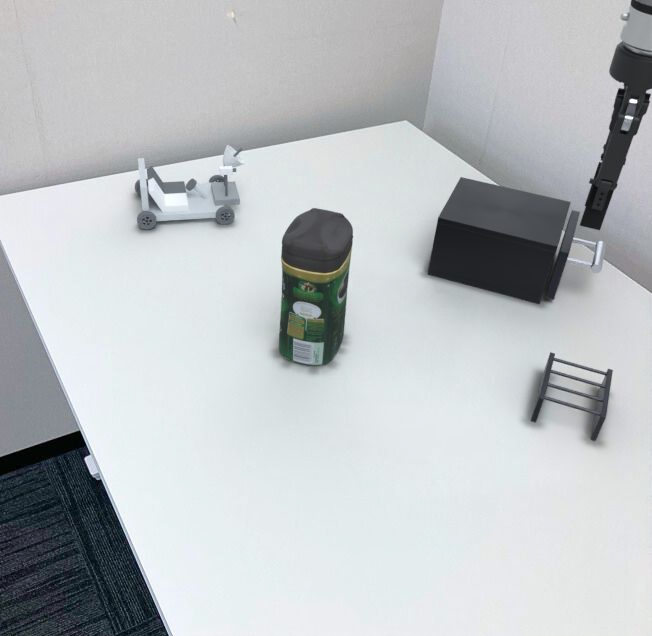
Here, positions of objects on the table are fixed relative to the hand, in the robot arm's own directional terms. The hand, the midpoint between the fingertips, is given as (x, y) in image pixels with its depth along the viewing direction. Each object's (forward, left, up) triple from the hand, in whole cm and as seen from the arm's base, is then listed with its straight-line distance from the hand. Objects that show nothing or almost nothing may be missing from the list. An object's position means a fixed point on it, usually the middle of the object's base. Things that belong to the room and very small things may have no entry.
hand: (592, 216), depth 104 cm
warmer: (+12, 0, -12) cm, 17 cm away
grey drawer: (+7, 0, -11) cm, 13 cm away
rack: (-3, +27, -12) cm, 30 cm away
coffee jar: (+30, +30, -12) cm, 44 cm away
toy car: (+61, +6, -12) cm, 62 cm away
